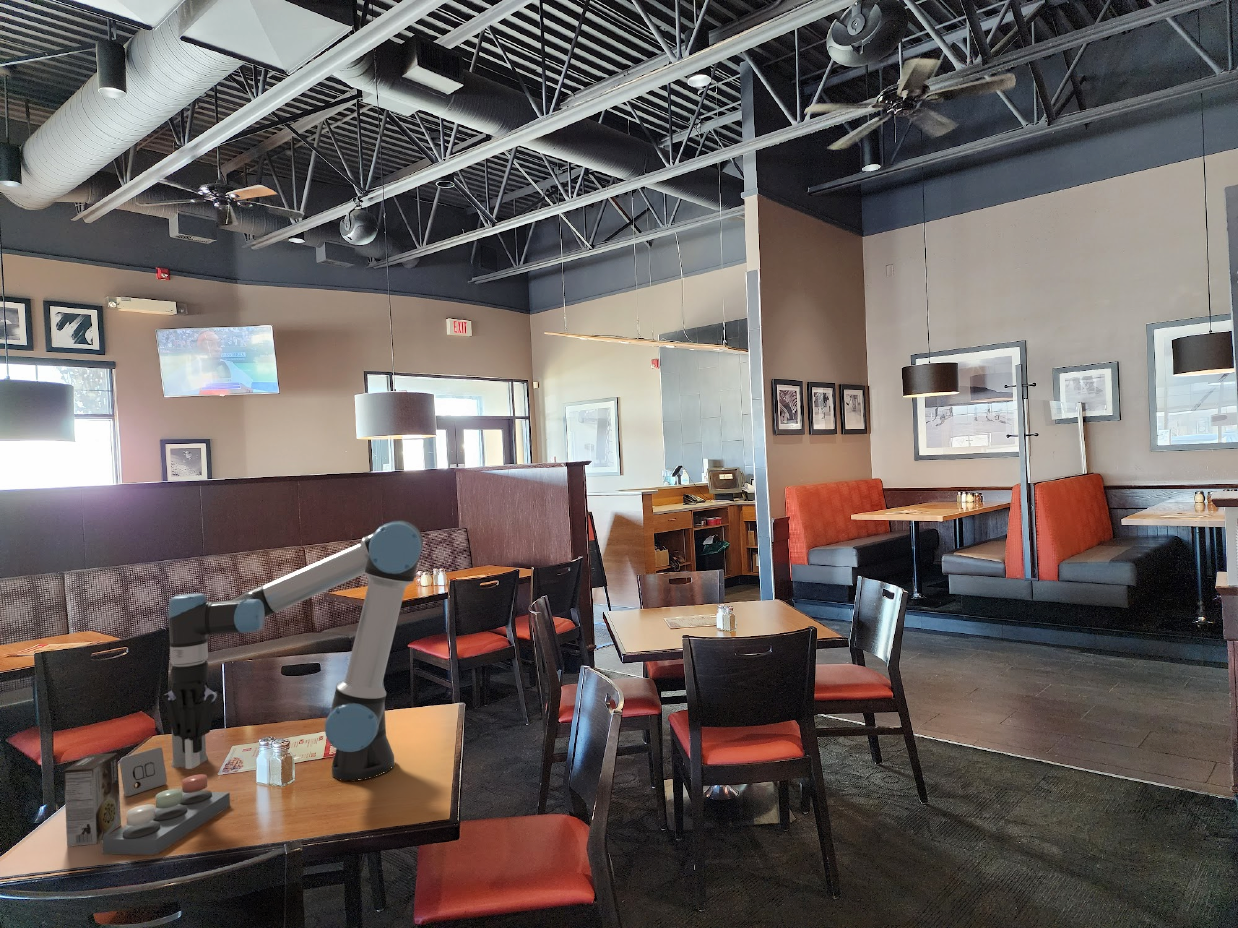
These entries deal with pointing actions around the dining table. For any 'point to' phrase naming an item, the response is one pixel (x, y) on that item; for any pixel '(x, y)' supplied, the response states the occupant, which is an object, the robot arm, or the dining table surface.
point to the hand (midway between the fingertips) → (192, 766)
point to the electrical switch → (143, 771)
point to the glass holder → (180, 756)
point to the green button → (168, 798)
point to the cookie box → (92, 799)
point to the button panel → (166, 824)
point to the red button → (194, 783)
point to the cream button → (140, 815)
